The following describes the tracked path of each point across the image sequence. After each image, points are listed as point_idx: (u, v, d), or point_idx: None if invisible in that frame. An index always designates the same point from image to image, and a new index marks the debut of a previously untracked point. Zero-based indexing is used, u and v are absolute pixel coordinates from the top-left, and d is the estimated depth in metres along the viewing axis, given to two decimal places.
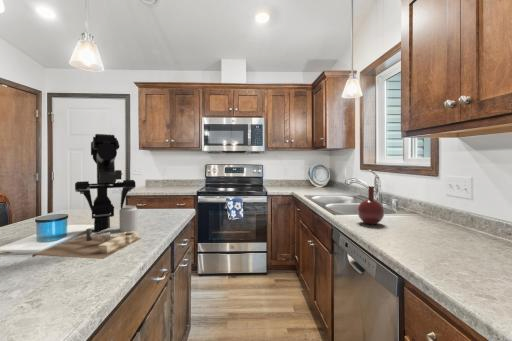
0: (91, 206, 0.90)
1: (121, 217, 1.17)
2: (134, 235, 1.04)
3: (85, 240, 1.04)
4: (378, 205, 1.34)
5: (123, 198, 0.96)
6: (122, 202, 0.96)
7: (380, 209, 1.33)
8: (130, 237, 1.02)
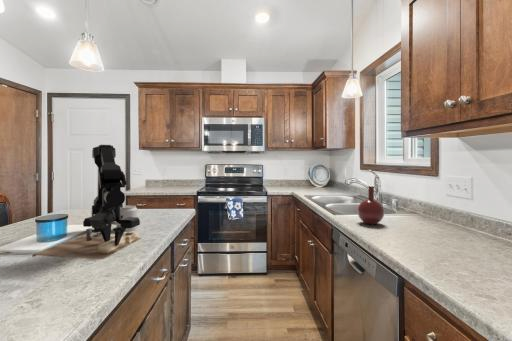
0: (105, 241, 0.95)
1: None
2: (134, 235, 1.04)
3: (85, 240, 1.04)
4: (378, 205, 1.34)
5: (116, 237, 0.94)
6: (115, 240, 0.94)
7: (380, 209, 1.33)
8: (130, 237, 1.02)
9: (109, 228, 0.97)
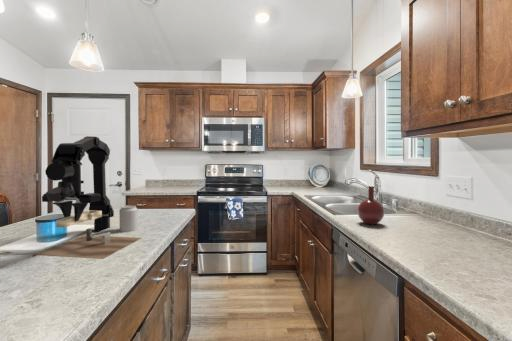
0: (65, 217, 0.94)
1: (121, 217, 1.17)
2: (97, 213, 1.04)
3: (85, 240, 1.04)
4: (378, 205, 1.34)
5: (75, 212, 0.93)
6: (75, 216, 0.94)
7: (380, 209, 1.33)
8: (92, 214, 1.01)
9: (70, 204, 0.96)
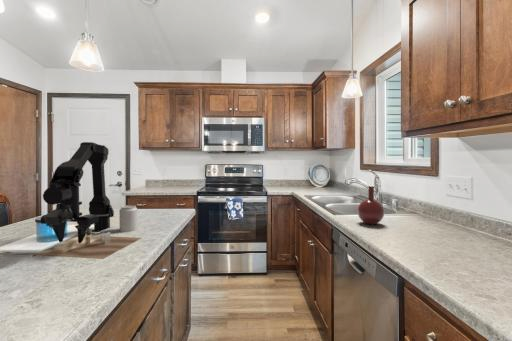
0: (58, 238, 0.95)
1: (121, 217, 1.17)
2: None
3: None
4: (378, 205, 1.34)
5: (79, 234, 0.93)
6: (78, 238, 0.94)
7: (380, 209, 1.33)
8: (91, 237, 1.01)
9: (63, 225, 0.97)
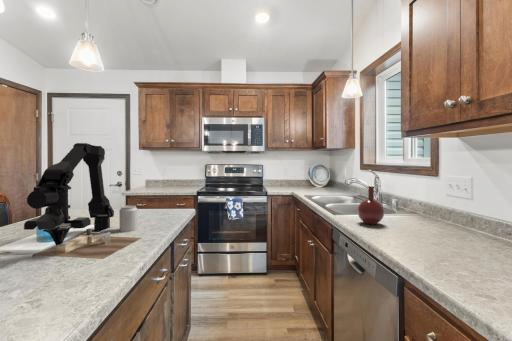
0: (56, 243, 0.91)
1: (121, 217, 1.17)
2: None
3: None
4: (378, 205, 1.34)
5: (59, 238, 0.91)
6: (58, 242, 0.91)
7: (380, 209, 1.33)
8: None
9: None
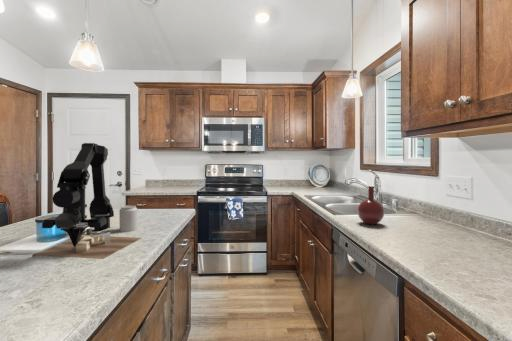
0: (73, 242, 0.92)
1: (121, 217, 1.17)
2: None
3: None
4: (378, 205, 1.34)
5: (75, 237, 0.92)
6: (75, 241, 0.92)
7: (380, 209, 1.33)
8: None
9: None
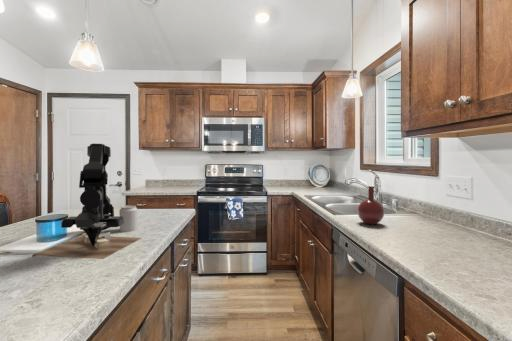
0: (91, 242, 0.93)
1: None
2: None
3: None
4: (378, 205, 1.34)
5: (94, 236, 0.93)
6: (93, 240, 0.93)
7: (380, 209, 1.33)
8: None
9: None
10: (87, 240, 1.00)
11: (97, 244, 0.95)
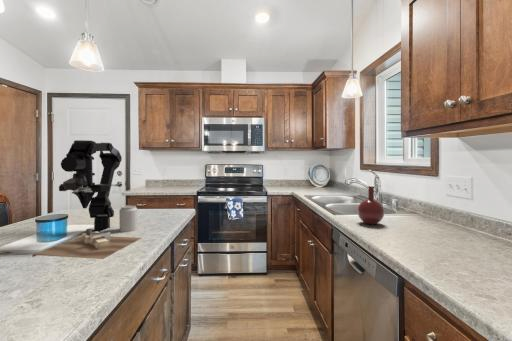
0: (82, 205, 1.07)
1: (121, 217, 1.17)
2: None
3: None
4: (378, 205, 1.34)
5: (84, 200, 1.07)
6: (84, 203, 1.07)
7: (380, 209, 1.33)
8: None
9: None
10: (87, 240, 1.00)
11: (97, 244, 0.95)
